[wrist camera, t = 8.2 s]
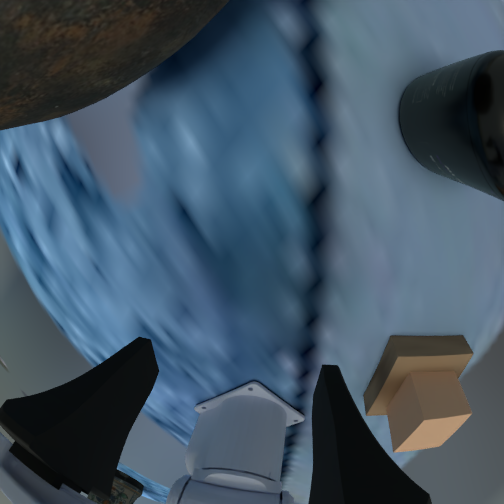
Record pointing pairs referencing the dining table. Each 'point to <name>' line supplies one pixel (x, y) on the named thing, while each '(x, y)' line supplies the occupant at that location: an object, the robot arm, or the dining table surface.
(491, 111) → the supplement bottle
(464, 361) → the walnut base
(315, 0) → the dining table surface
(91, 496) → the beer stein
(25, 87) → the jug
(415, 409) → the terracotta cube
